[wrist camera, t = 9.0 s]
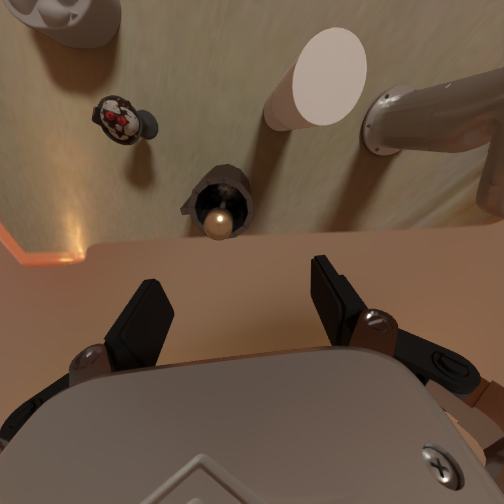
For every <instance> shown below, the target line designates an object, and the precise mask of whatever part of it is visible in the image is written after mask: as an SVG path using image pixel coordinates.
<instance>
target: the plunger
mask: <svg viewBox="0 0 504 504" xmlns="http://www.w3.org/2000/svg"><path fill="white" fill-rule="evenodd" d="M210 196H211V198H212V200H213V201H214V202H215V203H216V204H217V205H218V206H220V207H216V208H213V209H211V210H210V211H209V212H208V214H207V217H206V219H205V222H204V226H203V227H204V231H205V233H206V235H207V236H208V237H210V238H211V239H214V240H224V239H226V238H227V237H229V235H230V234H231V232H232V224H233V218H232V215H231V213H230V212H229V211H228V210H227V209H225V208H230V207H233V206H235V205H237V204H238V203H239V201H240V200H241V198H242V194H241V192H240V191H239V190H238V189H237V188H235V187H233V186H230V185H228V184H225V183H218V184H211V185H210Z"/></svg>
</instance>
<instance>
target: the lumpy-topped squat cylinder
mask: <svg viewBox="0 0 504 504" xmlns="http://www.w3.org/2000/svg"><path fill="white" fill-rule="evenodd" d="M3 2H4V4H5V5H6V7H7V8H8V10H9V11H10V12H11V13H12V15H14V16H15V17H16V18H17V19H18V20H19V21H21V22H22V23H24V24H25V25H27V26H29V27H30V28H32V29H34V30H36V31H38V32H40V33H42V34H44V35H46V36H48V37H49V38H51V39H53V40H55V41H57V42H59V43H61V44H63V45H65V46H67V47H70V48H80V49H90V48H98V47H102V46H105V45H106V44H107V43H108V42H109V41H110V40H111V39H112V38H113V37H114V35H115V34H116V32H117V30H118V28H119V24H120V20H121V5H120V0H3Z"/></svg>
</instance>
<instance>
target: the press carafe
mask: <svg viewBox="0 0 504 504" xmlns="http://www.w3.org/2000/svg"><path fill="white" fill-rule="evenodd" d="M218 183H225V184H228V185H230V186H233V187H235V188H237V189H238V190H239V191H240V192H241V194H242V198H241V200H240V201H239V203H238V204H237V205H235V206H233V207H230V208H225V209H227V210H228V211H229V212H230V213H231V215H232V218H233V224H232V232H231V234H230V235H229V237H227V238H234V237H237V236H238V235H239V234H241V233H242V232H244V231H245V230H246V229H248V227H249V225H250V222H251V220H252V218H253V216H254V209H253V201H252V195H251V190H250V186H249V181H248V179H247V177H246V176H245V175H244V173H243V172H242V171H241V169H239V168H236V167H234V166H232V165H230V164H225V165H218V166H215V167H214V168H213V169H212V170H211V171H209V172H208V173H207V174H206V175H205V176H204V178H203V179H202V180H201V181H200V182H199V183H198V185H197V186H196V187H195V188H194V189H193V190H192V194H191V196H190V197H189V199H188V200H187V201H186V202H185V204H184V205H183V206H182V207H181V208H180V210H181V213H182V215H186V214H191V218H192V221H193V223H194V224H195V225H196V226H197V227H198V228H199V229H200V230H201V231H202V232H203V233H204V234H205V235H206V233H205V231H204V227H203V226H204V222H205V219H206V217H207V214H208V212H209V211H210V210H211V209H213V208H216V207H220V206H218V205H217V204H216V203H215V202H214V201H213V200H212V198H211V196H210V185H211V184H218Z"/></svg>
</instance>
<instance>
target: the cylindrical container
mask: <svg viewBox="0 0 504 504" xmlns="http://www.w3.org/2000/svg"><path fill="white" fill-rule="evenodd" d="M366 71H367V63H366V55H365V52H364V48H363V46H362V44H361V42H360V40H359V39H358V38H357V37H356V36H355V35H354V34H353V33H352V32H350V31H349V30H346V29H343V28H330V29H327V30H324V31H322V32H320V33H319V34H317V35H316V36H315V37H313V38H312V39H311V40H310V41H309V42H308V44H307V45H306V46H305V47H304V49H303V50H302V51H301V53H300V54H299V56H298V57H297V58H296V60H295V61H294V62H293V64H292V65H291V66H290V68H289V69H288V71H287V72H286V73H285V75H284V76H283V77H282V79H281V80H280V81H279V83H278V84H277V85H276V87H275V88H274V90H273V91H272V92H271V94H270V95H269V96H268V98H267V100H266V102H265V105H264V118H265V121H266V123H267V125H268V126H269V127H270V128H271V129H273V130H275V131H287V130H294V129H302V128H309V127H317V126H324V125H329V124H333V123H335V122H337V121H339V120H341V119H342V118H343V117H345V116H346V115H347V114H348V113H349V112H350V111H351V110H352V108H353V107H354V106H355V104H356V103H357V101H358V99H359V97H360V95H361V93H362V90H363V87H364V84H365V79H366Z"/></svg>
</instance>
